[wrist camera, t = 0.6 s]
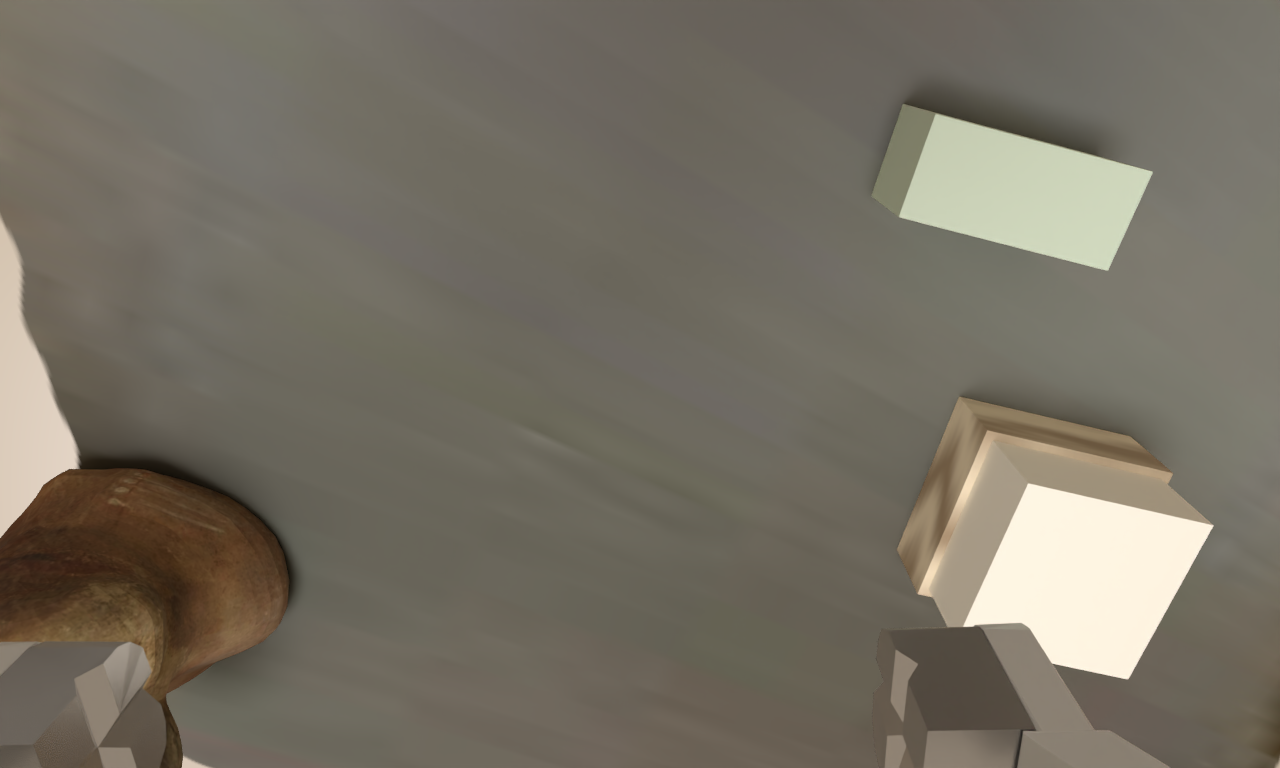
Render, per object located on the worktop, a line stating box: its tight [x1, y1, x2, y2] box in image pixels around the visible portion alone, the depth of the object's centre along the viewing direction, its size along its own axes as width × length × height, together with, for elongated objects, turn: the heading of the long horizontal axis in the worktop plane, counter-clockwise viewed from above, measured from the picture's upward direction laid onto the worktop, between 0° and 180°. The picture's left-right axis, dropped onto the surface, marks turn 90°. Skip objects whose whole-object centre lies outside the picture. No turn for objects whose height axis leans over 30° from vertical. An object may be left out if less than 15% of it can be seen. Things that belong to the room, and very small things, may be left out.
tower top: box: [929, 440, 1213, 679], centre depth 49 cm, size 10×10×5 cm
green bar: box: [871, 104, 1153, 271], centre depth 46 cm, size 5×11×6 cm, turn 76°
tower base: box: [897, 397, 1173, 597], centre depth 54 cm, size 11×11×5 cm
